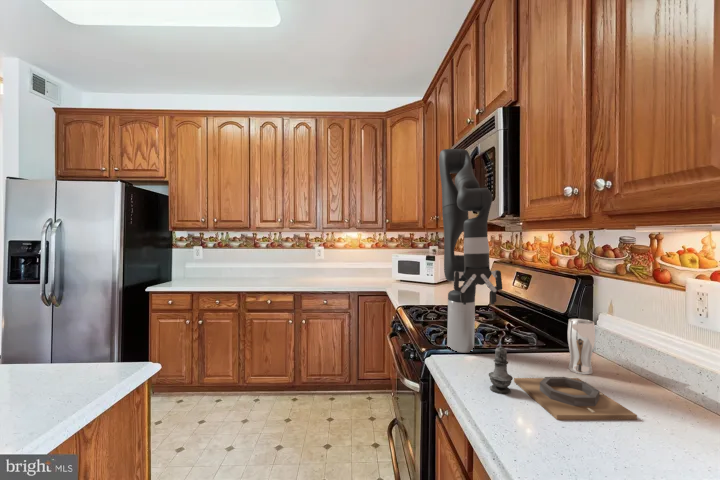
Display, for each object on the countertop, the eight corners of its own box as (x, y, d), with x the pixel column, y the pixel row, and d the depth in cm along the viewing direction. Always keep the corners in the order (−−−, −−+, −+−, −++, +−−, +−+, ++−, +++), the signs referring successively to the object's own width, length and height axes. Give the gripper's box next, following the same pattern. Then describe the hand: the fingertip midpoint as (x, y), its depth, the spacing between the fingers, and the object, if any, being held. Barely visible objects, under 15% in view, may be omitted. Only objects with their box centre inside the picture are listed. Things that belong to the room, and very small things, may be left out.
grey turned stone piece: (486, 391, 90) (487, 345, 90) (489, 383, 96) (490, 339, 95) (511, 396, 88) (512, 348, 87) (513, 387, 93) (514, 342, 93)
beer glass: (584, 376, 101) (585, 324, 101) (561, 368, 107) (562, 319, 107) (599, 373, 104) (600, 322, 103) (576, 365, 110) (577, 317, 110)
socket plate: (514, 381, 97) (514, 370, 97) (577, 381, 97) (578, 371, 97) (556, 419, 77) (557, 406, 77) (637, 419, 77) (637, 406, 77)
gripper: (496, 251, 112) (498, 301, 112) (451, 252, 114) (453, 302, 114) (503, 251, 105) (505, 306, 105) (454, 253, 107) (456, 306, 106)
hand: (478, 304), depth 109 cm, fingers open, 8 cm apart
